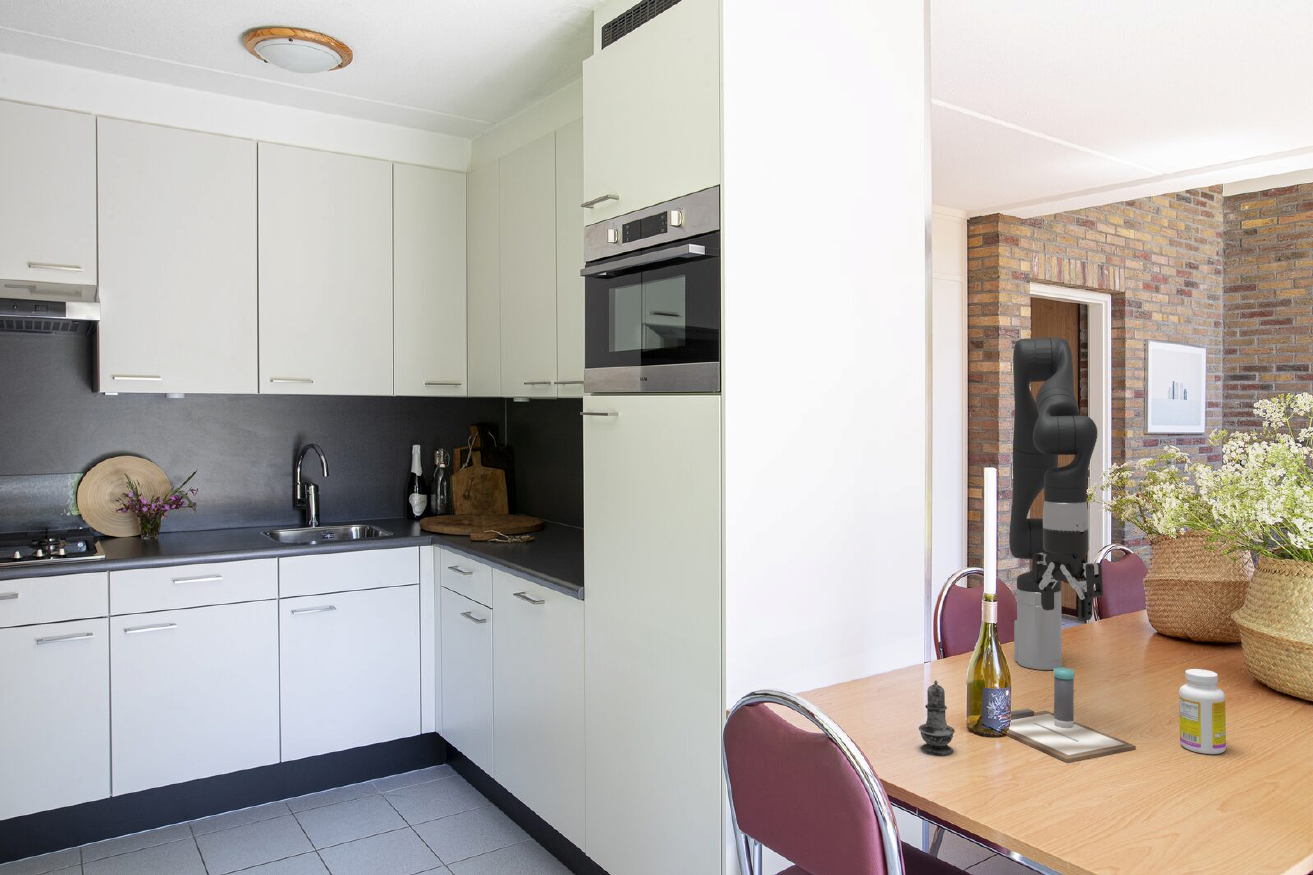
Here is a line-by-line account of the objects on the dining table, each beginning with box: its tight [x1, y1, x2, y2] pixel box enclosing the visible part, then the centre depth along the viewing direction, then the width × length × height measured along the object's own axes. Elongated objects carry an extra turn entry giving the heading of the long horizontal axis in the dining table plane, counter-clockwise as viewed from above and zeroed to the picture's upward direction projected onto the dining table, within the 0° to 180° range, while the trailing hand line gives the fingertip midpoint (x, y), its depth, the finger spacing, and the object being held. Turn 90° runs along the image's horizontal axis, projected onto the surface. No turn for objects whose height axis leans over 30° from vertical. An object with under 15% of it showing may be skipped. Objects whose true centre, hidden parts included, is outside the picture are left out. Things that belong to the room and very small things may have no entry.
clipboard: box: [1006, 708, 1137, 764], centre depth 157 cm, size 20×15×2 cm
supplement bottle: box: [1178, 668, 1227, 755], centre depth 150 cm, size 7×7×13 cm
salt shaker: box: [918, 679, 956, 757], centre depth 152 cm, size 6×6×12 cm
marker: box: [1053, 666, 1075, 728], centre depth 160 cm, size 3×3×10 cm
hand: (1066, 614), depth 162 cm, fingers open, 8 cm apart
